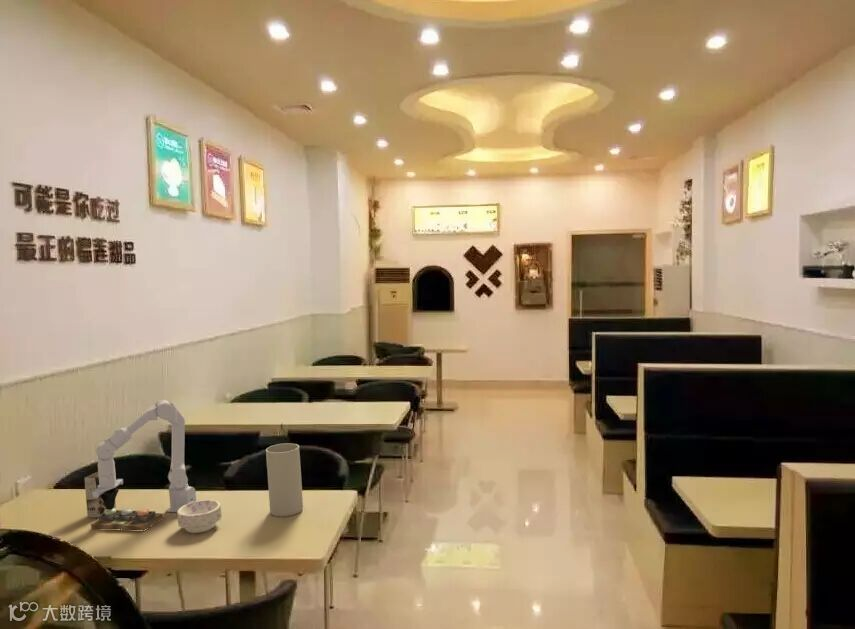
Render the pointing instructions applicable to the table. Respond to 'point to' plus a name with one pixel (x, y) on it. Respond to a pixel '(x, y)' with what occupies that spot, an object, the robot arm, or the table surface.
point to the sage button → (110, 512)
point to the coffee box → (93, 503)
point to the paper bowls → (199, 515)
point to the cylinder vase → (284, 479)
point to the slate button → (126, 512)
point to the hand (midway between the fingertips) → (110, 508)
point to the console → (126, 521)
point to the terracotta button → (143, 513)
